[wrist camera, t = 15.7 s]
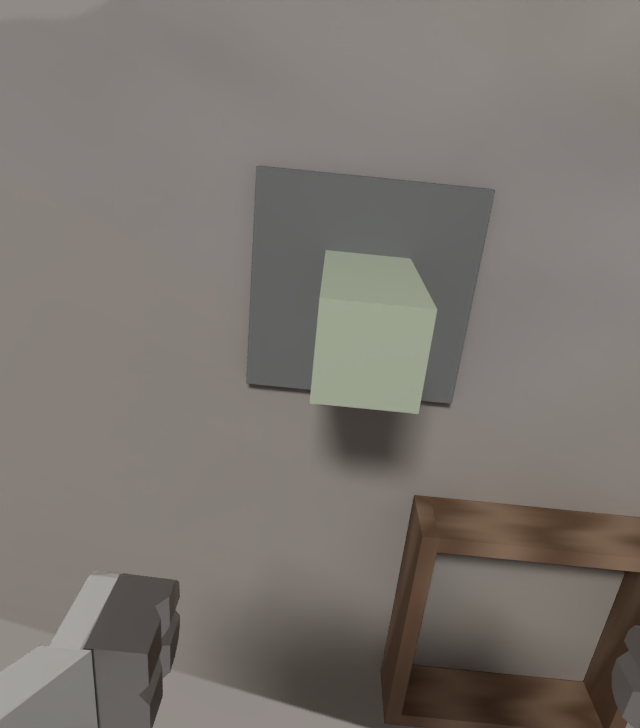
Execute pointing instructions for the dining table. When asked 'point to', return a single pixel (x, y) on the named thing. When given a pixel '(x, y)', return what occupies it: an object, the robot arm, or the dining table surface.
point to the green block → (371, 333)
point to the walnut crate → (491, 690)
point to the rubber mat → (365, 236)
